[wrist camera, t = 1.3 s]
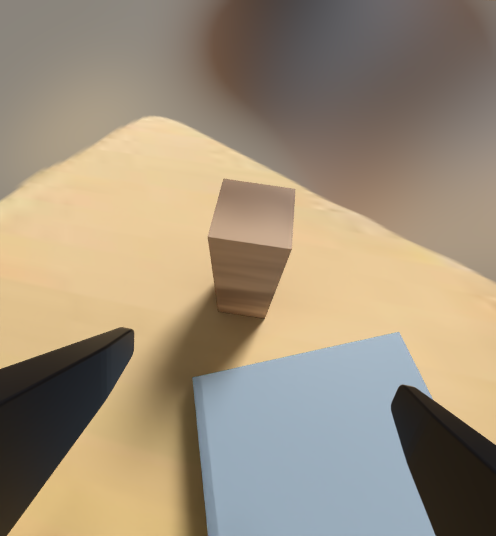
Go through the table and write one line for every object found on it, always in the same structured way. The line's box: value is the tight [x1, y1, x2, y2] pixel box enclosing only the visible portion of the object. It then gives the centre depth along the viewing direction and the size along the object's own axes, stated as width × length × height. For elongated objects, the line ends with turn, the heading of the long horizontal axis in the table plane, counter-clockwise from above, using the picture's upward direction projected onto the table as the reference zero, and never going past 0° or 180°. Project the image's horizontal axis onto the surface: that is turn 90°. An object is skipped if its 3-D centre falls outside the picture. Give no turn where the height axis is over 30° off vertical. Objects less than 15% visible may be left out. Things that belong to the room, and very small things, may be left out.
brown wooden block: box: [208, 179, 295, 318], centre depth 19 cm, size 4×4×12 cm
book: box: [192, 332, 435, 536], centre depth 18 cm, size 17×12×3 cm
